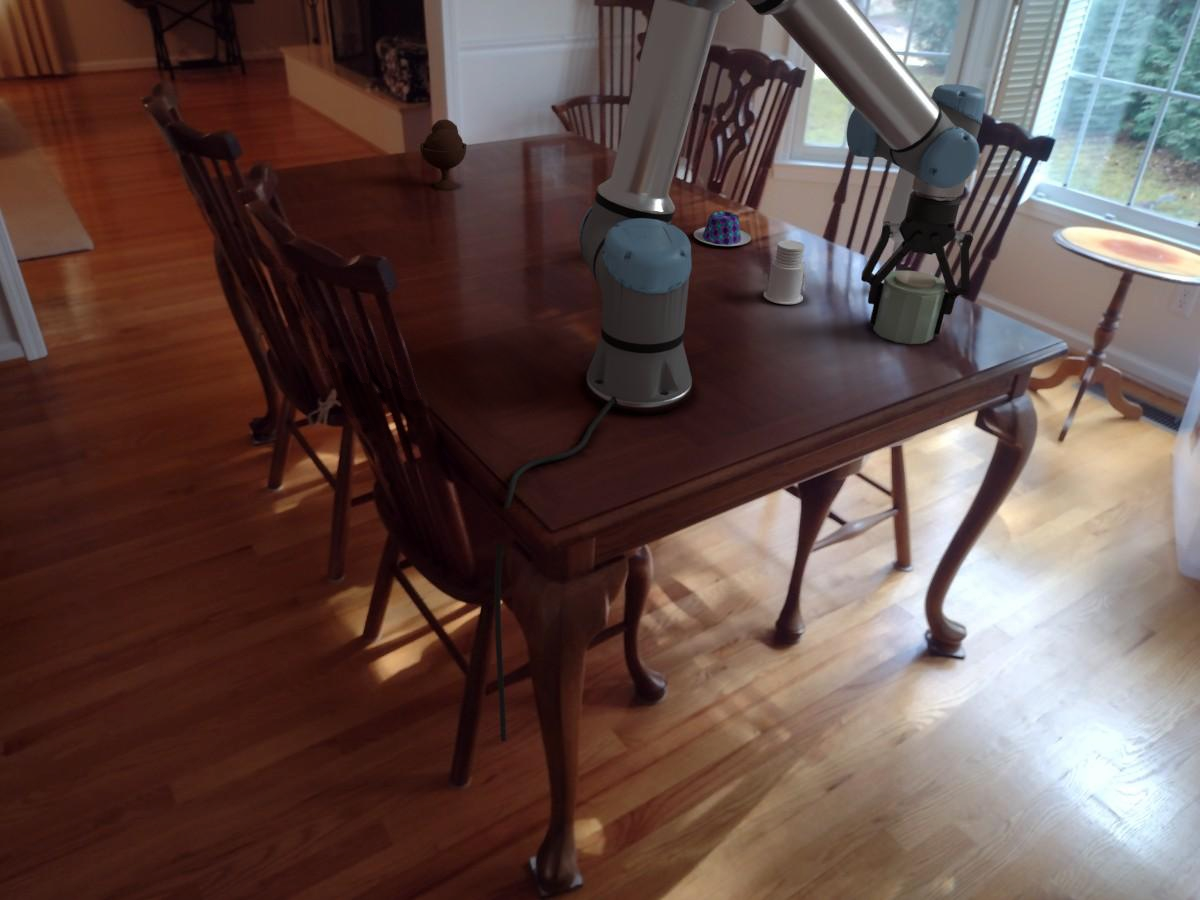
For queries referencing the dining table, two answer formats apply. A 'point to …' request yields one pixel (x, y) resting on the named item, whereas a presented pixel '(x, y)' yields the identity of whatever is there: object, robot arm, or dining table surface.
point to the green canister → (909, 307)
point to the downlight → (786, 274)
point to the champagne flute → (899, 204)
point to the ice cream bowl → (444, 151)
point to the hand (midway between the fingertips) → (904, 326)
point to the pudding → (722, 230)
